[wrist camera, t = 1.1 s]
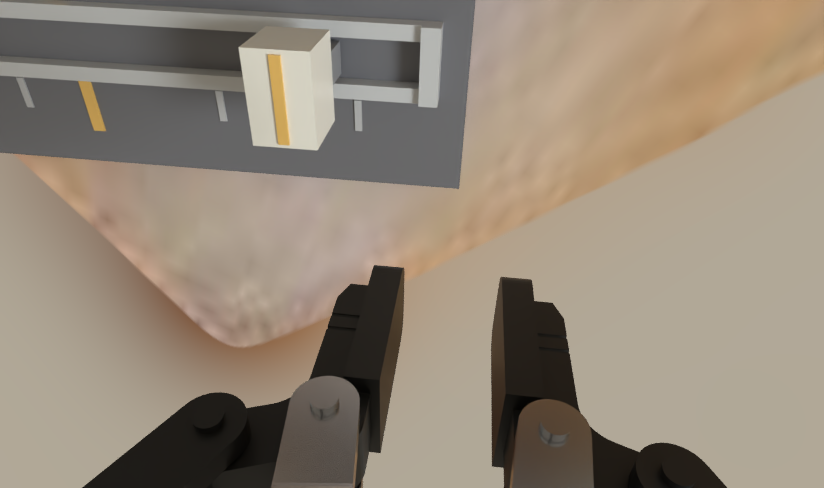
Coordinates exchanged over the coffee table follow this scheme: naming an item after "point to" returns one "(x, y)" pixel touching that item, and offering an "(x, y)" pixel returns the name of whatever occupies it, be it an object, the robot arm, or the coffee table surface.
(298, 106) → the fader
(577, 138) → the coffee table surface
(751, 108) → the coffee table surface
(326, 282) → the coffee table surface
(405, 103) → the console
